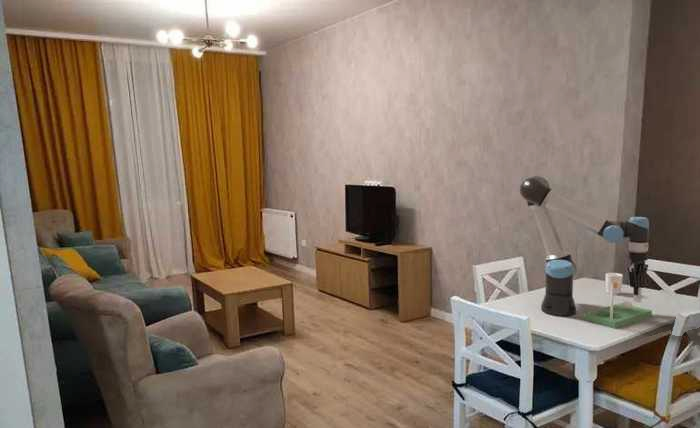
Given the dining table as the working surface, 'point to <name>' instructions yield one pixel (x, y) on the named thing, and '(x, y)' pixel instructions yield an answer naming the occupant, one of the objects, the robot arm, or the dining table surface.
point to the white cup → (613, 279)
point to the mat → (617, 315)
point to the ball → (627, 305)
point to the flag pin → (613, 285)
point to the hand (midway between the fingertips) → (637, 301)
